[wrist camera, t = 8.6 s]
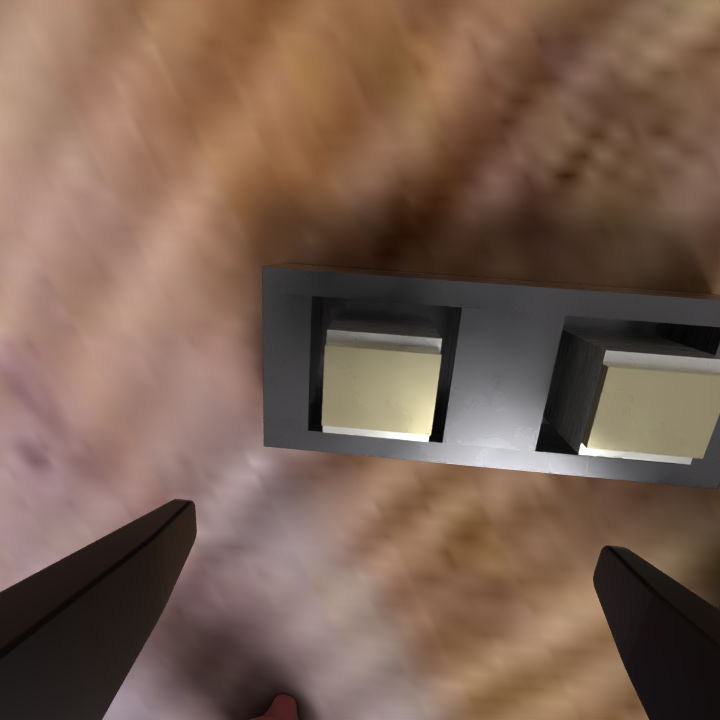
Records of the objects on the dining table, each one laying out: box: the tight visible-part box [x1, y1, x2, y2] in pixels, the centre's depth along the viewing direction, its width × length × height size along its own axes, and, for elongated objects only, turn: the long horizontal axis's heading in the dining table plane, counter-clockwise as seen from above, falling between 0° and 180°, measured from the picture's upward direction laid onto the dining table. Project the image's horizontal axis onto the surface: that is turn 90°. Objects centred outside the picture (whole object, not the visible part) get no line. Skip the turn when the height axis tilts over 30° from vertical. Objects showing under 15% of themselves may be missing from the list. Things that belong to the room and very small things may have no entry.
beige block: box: [543, 325, 720, 465], centre depth 16 cm, size 4×4×5 cm
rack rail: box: [262, 263, 720, 489], centre depth 18 cm, size 20×8×4 cm, turn 86°
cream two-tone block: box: [322, 309, 442, 442], centre depth 17 cm, size 4×4×5 cm
